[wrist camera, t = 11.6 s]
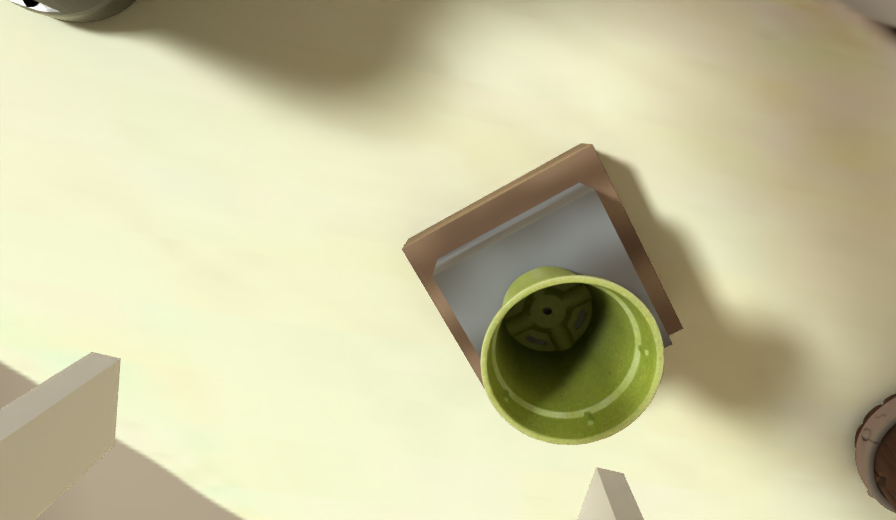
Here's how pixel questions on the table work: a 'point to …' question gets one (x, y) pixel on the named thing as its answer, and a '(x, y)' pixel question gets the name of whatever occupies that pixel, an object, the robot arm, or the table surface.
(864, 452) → the flowerpot
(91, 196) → the table surface
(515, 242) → the pedestal
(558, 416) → the plant pot
